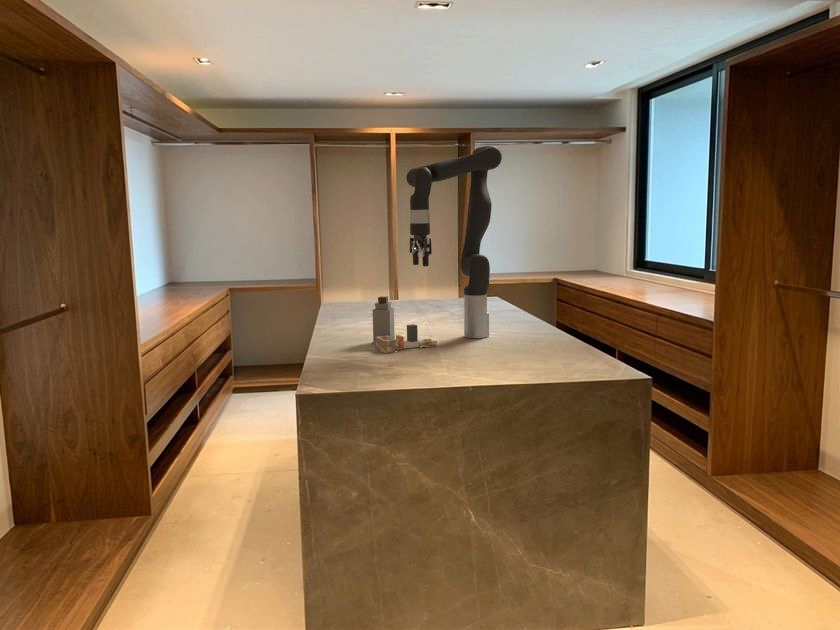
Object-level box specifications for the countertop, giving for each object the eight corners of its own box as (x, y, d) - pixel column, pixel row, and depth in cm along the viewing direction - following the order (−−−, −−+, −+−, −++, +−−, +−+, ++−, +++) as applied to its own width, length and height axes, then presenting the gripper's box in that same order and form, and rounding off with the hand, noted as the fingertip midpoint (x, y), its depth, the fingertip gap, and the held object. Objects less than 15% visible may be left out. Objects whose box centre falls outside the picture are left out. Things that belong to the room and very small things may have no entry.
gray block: (420, 344, 246) (420, 323, 245) (425, 346, 242) (425, 324, 241) (396, 347, 242) (395, 325, 241) (400, 349, 238) (400, 327, 237)
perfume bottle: (390, 344, 247) (389, 298, 245) (373, 344, 249) (372, 298, 246) (394, 341, 254) (393, 296, 251) (378, 341, 255) (376, 295, 252)
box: (389, 347, 243) (388, 335, 242) (398, 351, 235) (398, 339, 234) (375, 348, 241) (375, 337, 240) (384, 353, 233) (384, 341, 232)
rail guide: (430, 343, 249) (430, 338, 248) (437, 346, 243) (437, 340, 243) (413, 345, 246) (413, 340, 245) (420, 348, 240) (420, 342, 240)
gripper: (437, 222, 236) (438, 266, 239) (420, 221, 249) (421, 263, 252) (418, 222, 233) (419, 267, 236) (402, 222, 246) (403, 264, 248)
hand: (420, 265), depth 244 cm, fingers open, 8 cm apart
